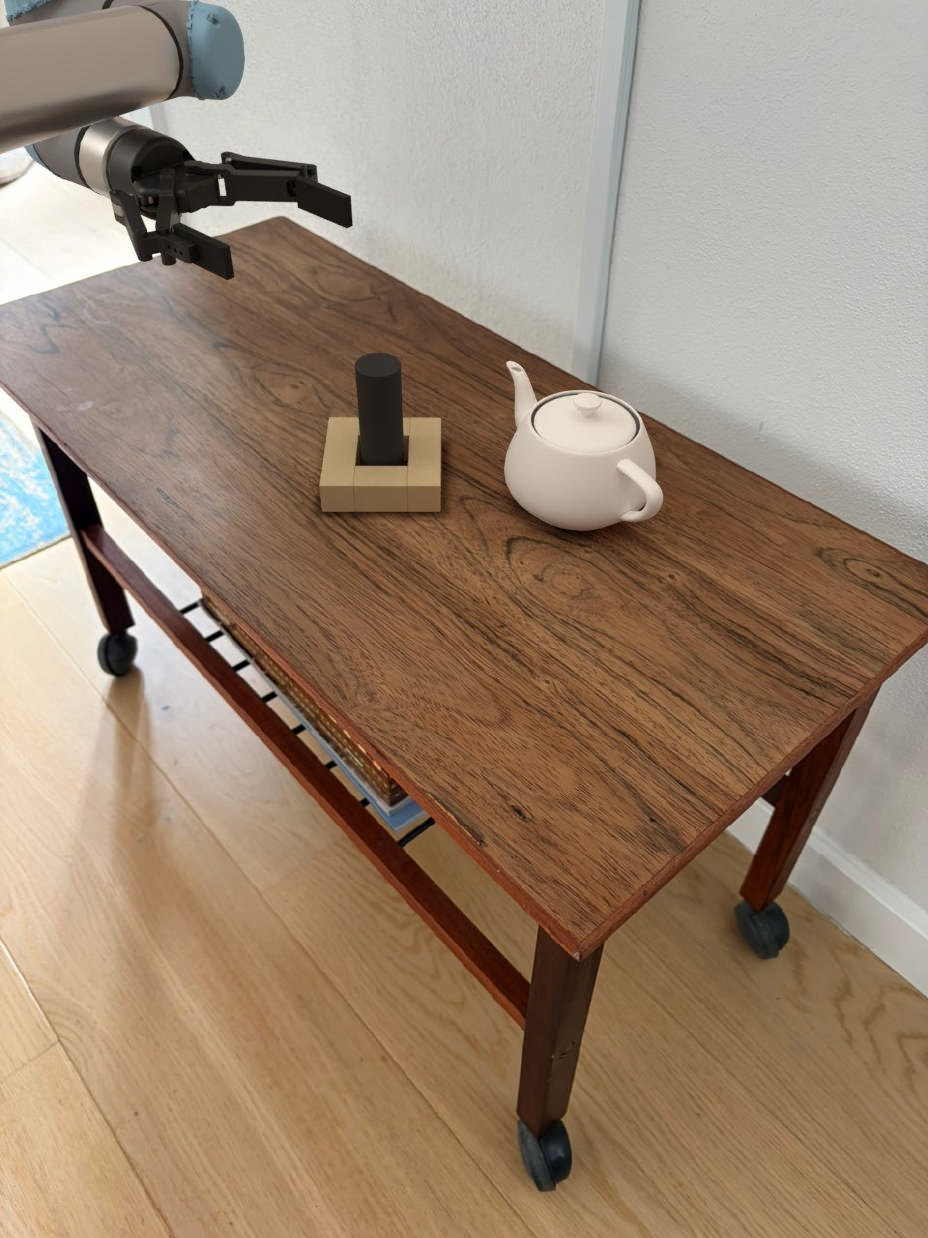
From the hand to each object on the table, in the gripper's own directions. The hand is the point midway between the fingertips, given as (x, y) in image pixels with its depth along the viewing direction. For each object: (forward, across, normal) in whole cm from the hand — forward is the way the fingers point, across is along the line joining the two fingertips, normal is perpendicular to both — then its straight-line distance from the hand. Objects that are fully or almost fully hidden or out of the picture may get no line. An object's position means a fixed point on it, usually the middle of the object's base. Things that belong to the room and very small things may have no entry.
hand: (291, 236), depth 87 cm
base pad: (+10, 0, -20) cm, 23 cm away
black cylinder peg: (+10, 0, -20) cm, 23 cm away
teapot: (+25, -10, -21) cm, 34 cm away
